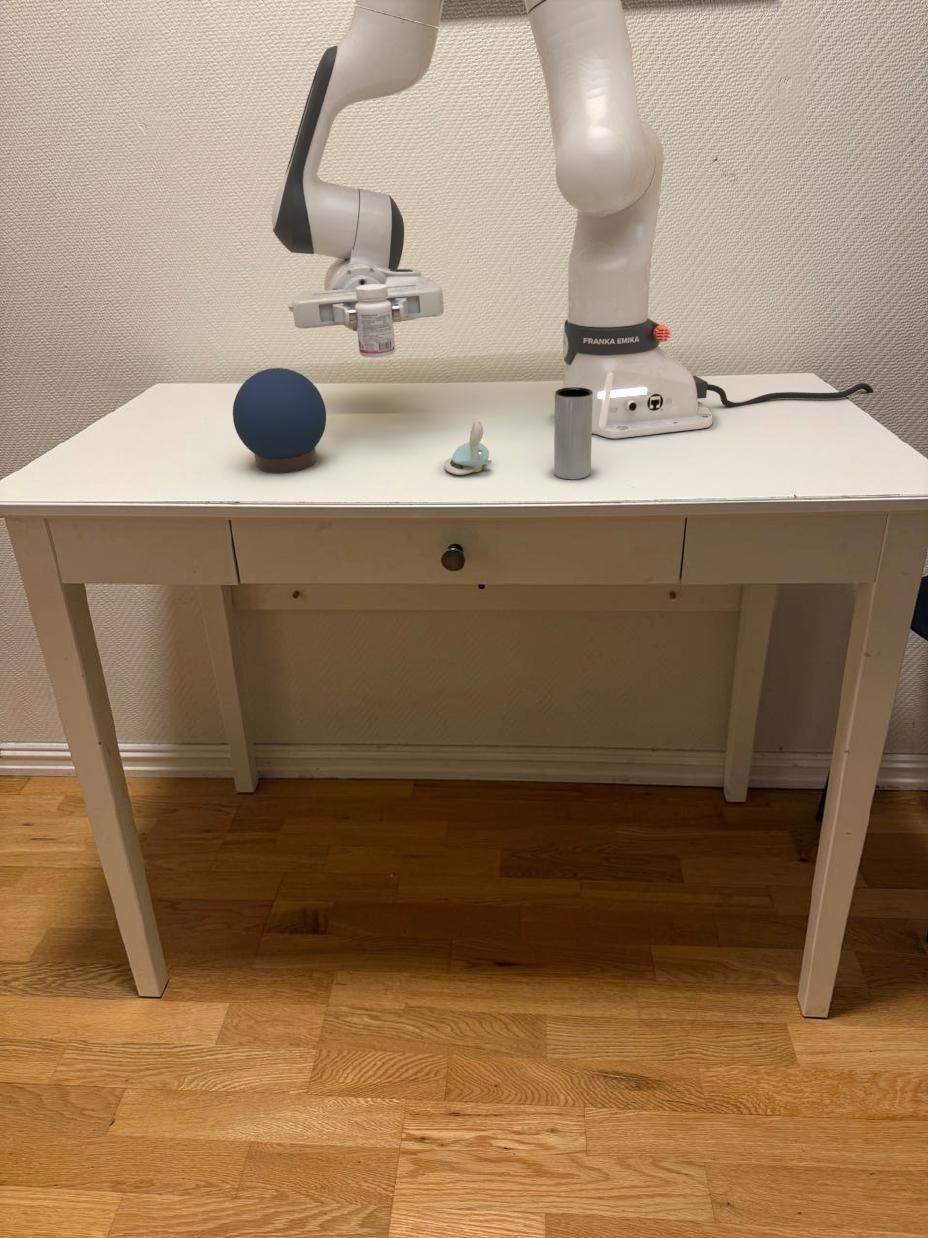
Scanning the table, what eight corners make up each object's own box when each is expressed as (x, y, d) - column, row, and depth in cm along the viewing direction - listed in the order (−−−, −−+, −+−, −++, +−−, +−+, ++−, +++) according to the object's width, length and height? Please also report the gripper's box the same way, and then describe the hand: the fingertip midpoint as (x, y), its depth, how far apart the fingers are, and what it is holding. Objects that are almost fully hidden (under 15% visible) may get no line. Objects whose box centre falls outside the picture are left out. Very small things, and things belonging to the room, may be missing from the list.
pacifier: (445, 480, 114) (493, 476, 114) (441, 432, 111) (490, 427, 111) (443, 461, 121) (488, 457, 121) (439, 415, 118) (485, 411, 118)
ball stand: (319, 452, 126) (317, 438, 125) (313, 471, 119) (311, 456, 118) (261, 455, 126) (258, 441, 125) (252, 474, 119) (249, 460, 118)
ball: (334, 443, 127) (324, 356, 122) (327, 472, 117) (316, 378, 111) (248, 447, 127) (234, 360, 121) (233, 477, 116) (217, 383, 111)
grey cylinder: (588, 480, 112) (591, 397, 107) (552, 479, 113) (552, 396, 108) (591, 468, 116) (594, 387, 111) (556, 466, 117) (557, 386, 112)
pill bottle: (363, 349, 122) (356, 283, 118) (398, 348, 122) (393, 282, 117) (356, 358, 118) (349, 289, 114) (392, 357, 117) (386, 288, 113)
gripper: (284, 280, 125) (290, 296, 113) (430, 268, 129) (450, 282, 117) (290, 327, 128) (296, 348, 116) (432, 314, 132) (453, 332, 120)
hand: (375, 315), depth 117 cm, fingers closed on pill bottle, 5 cm apart
